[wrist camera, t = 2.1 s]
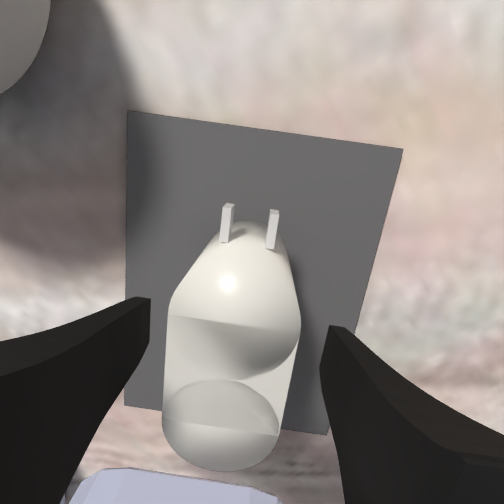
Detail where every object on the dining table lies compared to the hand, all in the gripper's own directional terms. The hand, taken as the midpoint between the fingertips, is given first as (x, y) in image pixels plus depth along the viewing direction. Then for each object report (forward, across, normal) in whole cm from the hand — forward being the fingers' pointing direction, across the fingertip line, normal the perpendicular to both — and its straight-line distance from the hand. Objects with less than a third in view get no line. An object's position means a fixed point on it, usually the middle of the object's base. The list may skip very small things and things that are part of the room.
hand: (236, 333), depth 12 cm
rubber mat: (+4, 0, 0) cm, 4 cm away
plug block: (+3, 0, 0) cm, 3 cm away
